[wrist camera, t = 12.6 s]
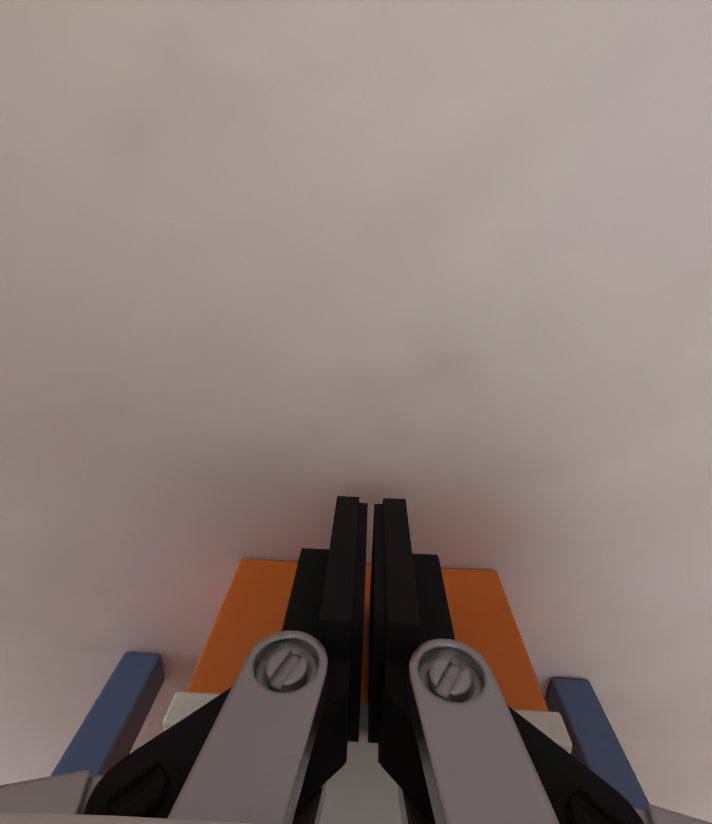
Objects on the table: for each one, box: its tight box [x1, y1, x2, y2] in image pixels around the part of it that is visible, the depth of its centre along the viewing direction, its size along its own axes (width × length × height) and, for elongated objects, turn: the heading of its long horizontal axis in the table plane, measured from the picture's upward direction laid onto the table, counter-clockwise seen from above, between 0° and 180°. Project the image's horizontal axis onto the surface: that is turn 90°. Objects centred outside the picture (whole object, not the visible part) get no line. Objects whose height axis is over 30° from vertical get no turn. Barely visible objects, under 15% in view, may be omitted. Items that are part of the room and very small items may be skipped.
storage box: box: [163, 559, 572, 824], centre depth 13 cm, size 10×8×5 cm
